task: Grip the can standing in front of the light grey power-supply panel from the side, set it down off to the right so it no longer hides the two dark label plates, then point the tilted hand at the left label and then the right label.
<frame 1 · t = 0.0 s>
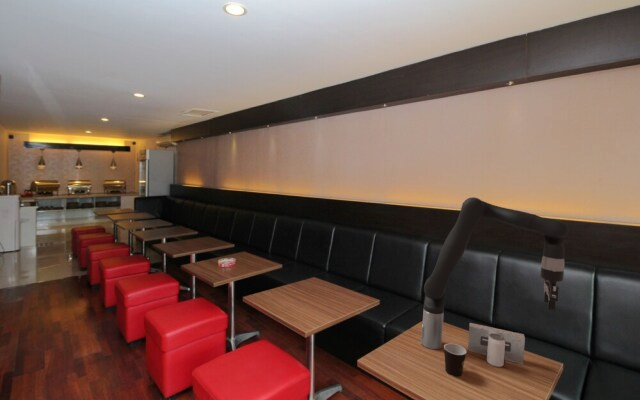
hand: (549, 305, 128), 29 cm above the table, tool pointing down, fingers open, 8 cm apart
can: (494, 363, 137), on the table
coffee mug: (456, 371, 130), on the table
psu panel: (494, 355, 143), on the table
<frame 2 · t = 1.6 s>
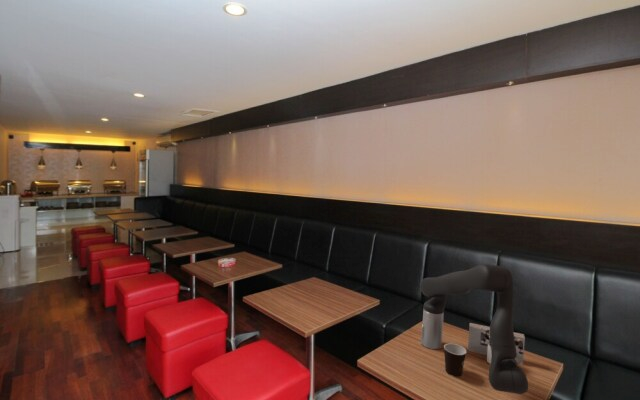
hand: (499, 334, 126), 18 cm above the table, tool horizontal, fingers open, 8 cm apart
nothing on the table moved.
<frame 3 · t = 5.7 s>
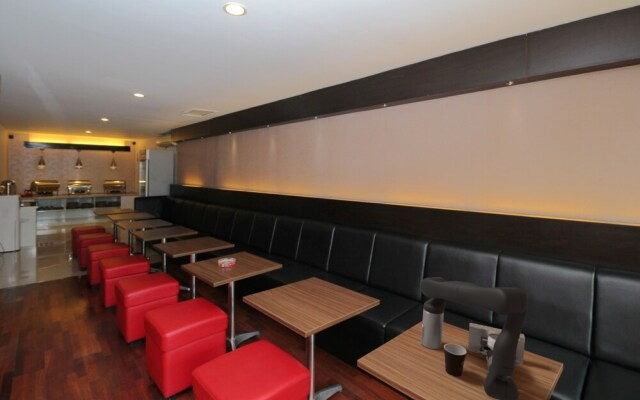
hand: (496, 345, 138), 7 cm above the table, tool horizontal, fingers closed on can, 5 cm apart
can: (494, 363, 137), on the table, touching gripper
everything else where it was.
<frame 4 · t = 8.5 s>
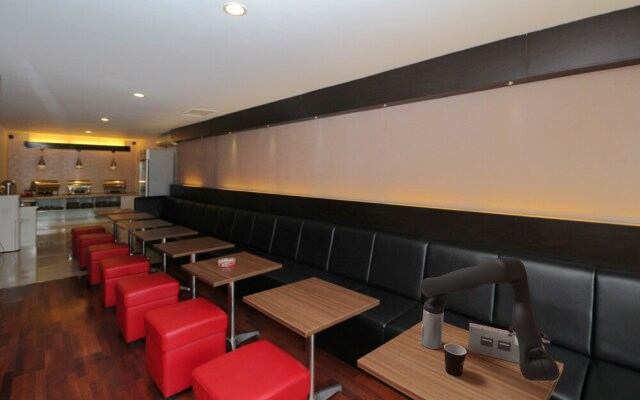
hand: (525, 327, 129), 20 cm above the table, tool horizontal, fingers closed on can, 5 cm apart
can: (523, 346, 127), point 13 cm above the table, touching gripper
everything else where it was.
when the fingers open (8 cm above the table, at t = 11.5 s): can stays where it is, on the table.
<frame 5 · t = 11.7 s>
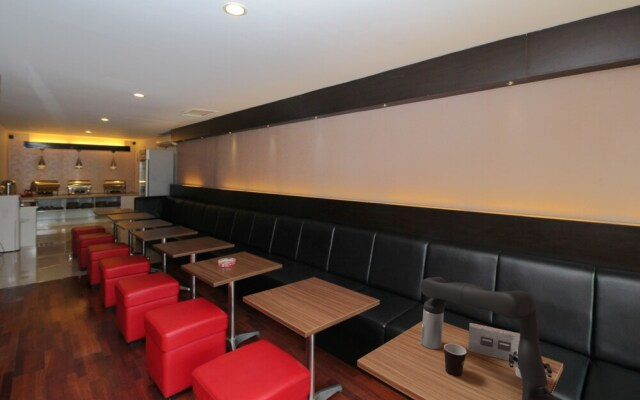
hand: (526, 356, 129), 8 cm above the table, tool horizontal, fingers open, 7 cm apart
can: (524, 377, 128), on the table
everything else where it was.
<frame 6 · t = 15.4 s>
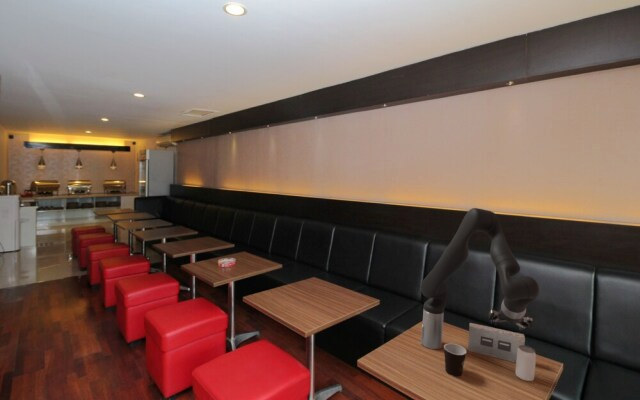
hand: (507, 325, 125), 22 cm above the table, tool tilted 45°, fingers open, 8 cm apart
nothing on the table moved.
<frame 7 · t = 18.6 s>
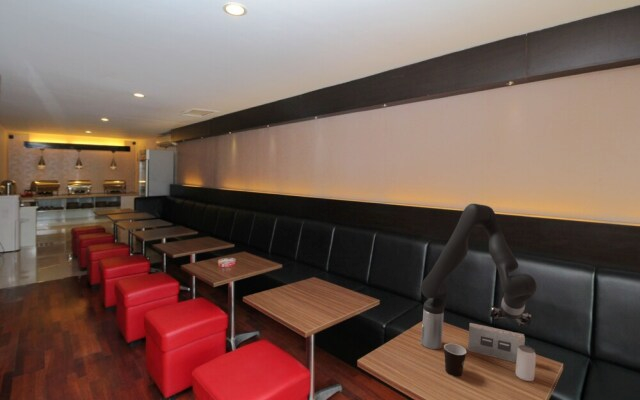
hand: (508, 322, 131), 21 cm above the table, tool tilted 45°, fingers open, 8 cm apart
nothing on the table moved.
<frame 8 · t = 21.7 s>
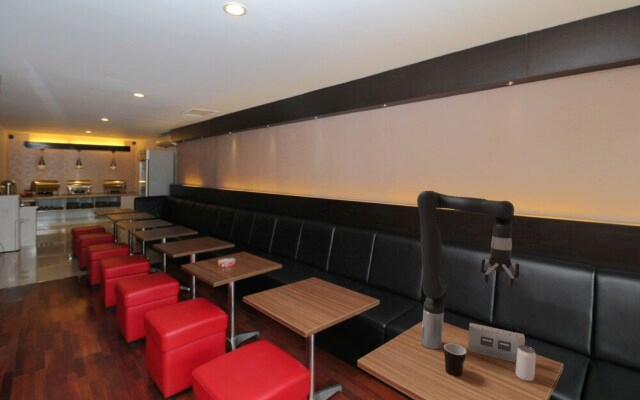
hand: (498, 284, 133), 36 cm above the table, tool pointing down, fingers open, 8 cm apart
nothing on the table moved.
at the end: can inside the target area (0.5 cm from its centre), on the table; can tilted 0°; the gripper is holding nothing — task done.
